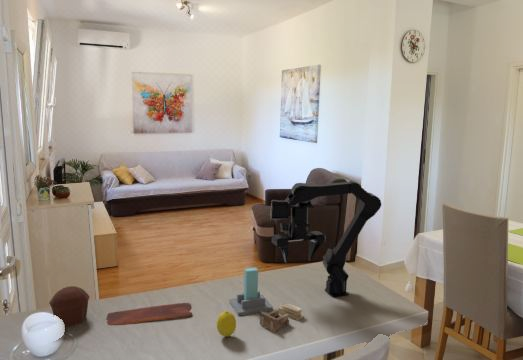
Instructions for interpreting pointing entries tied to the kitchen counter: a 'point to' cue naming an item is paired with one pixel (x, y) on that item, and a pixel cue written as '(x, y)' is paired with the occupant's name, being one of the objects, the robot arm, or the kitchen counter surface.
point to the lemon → (226, 324)
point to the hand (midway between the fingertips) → (297, 261)
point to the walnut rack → (273, 320)
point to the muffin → (70, 305)
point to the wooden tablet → (150, 314)
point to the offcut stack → (291, 311)
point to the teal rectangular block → (250, 283)
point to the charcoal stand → (250, 304)
